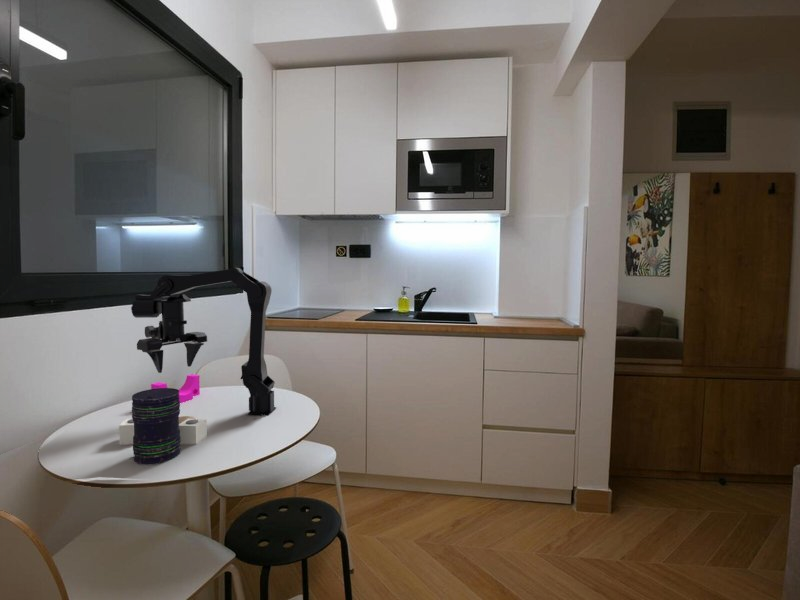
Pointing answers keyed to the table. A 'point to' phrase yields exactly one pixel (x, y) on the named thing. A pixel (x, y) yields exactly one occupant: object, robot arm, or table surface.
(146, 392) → the storage jar
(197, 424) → the marked cube
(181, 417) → the beige rounded disc
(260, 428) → the table surface
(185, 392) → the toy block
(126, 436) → the marked cube
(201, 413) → the table surface
